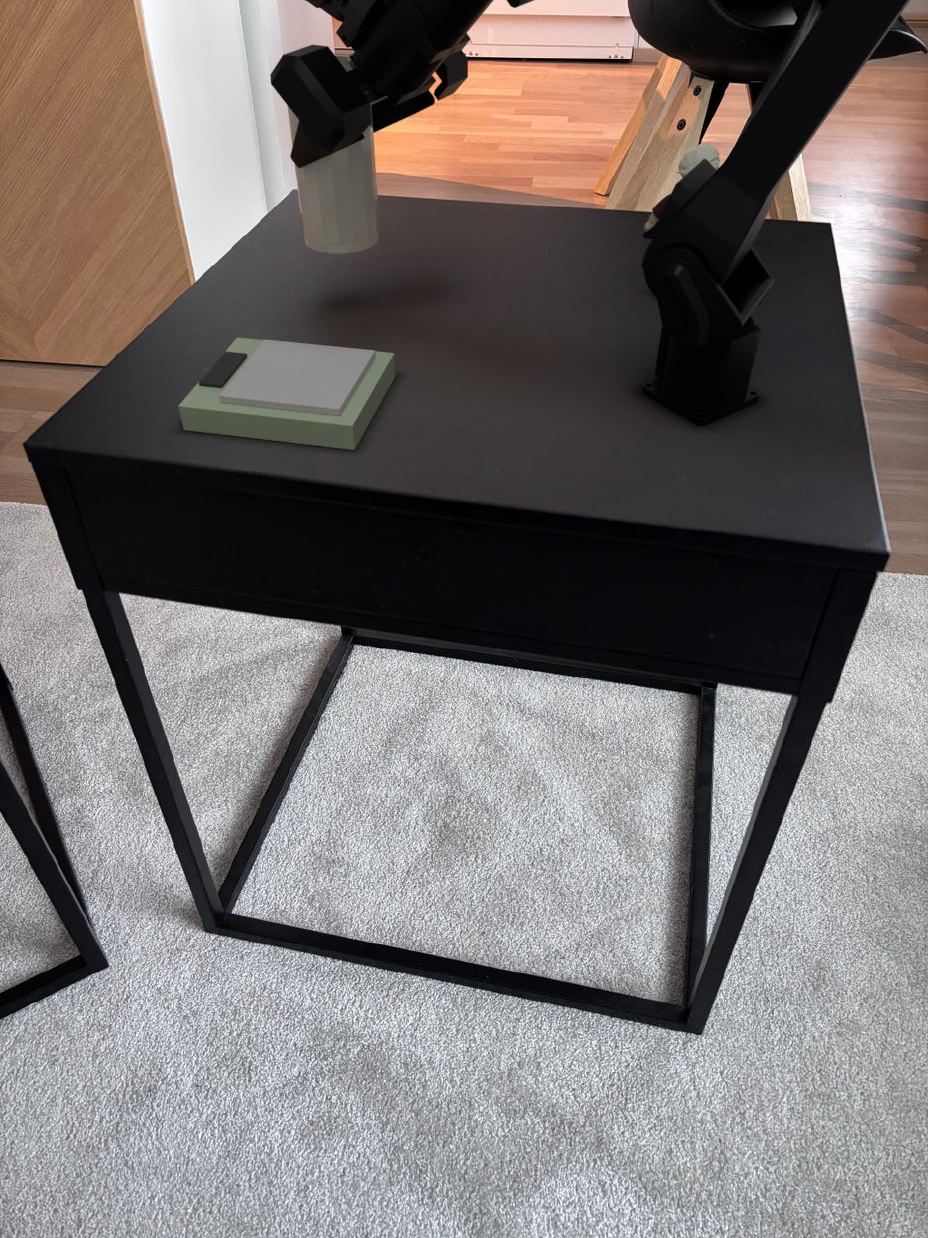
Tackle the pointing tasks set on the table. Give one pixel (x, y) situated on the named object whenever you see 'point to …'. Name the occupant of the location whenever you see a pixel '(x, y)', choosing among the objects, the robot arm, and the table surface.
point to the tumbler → (339, 195)
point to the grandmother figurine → (686, 166)
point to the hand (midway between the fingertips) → (320, 150)
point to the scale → (290, 393)
